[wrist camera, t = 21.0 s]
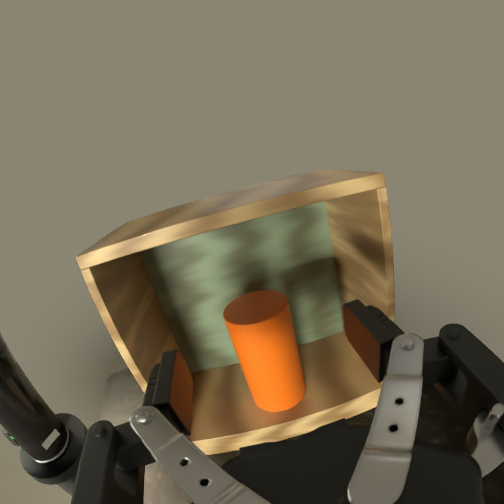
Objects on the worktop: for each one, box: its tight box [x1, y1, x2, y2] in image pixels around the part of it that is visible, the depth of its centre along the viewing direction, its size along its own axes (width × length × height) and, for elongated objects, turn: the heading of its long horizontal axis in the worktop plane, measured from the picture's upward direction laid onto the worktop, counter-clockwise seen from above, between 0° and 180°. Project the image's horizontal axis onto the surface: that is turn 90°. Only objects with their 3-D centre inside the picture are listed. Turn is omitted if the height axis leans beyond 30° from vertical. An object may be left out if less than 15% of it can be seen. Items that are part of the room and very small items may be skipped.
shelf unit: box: [76, 169, 394, 455], centre depth 26 cm, size 22×12×23 cm, turn 98°
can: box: [223, 290, 306, 412], centre depth 25 cm, size 6×6×11 cm
